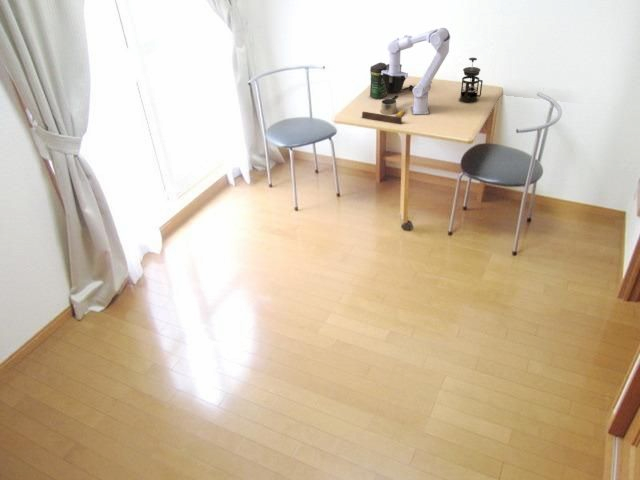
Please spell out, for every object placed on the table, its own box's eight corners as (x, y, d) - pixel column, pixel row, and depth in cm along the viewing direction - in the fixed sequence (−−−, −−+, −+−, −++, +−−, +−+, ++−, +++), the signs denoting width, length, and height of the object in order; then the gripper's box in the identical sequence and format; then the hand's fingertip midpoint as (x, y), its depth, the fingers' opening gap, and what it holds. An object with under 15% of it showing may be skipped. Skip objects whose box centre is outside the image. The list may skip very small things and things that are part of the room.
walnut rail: (362, 117, 277) (362, 112, 275) (363, 116, 278) (363, 111, 276) (400, 124, 267) (400, 118, 265) (401, 122, 268) (401, 117, 266)
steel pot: (392, 115, 277) (392, 105, 273) (379, 113, 280) (379, 103, 277) (403, 104, 287) (403, 95, 284) (390, 102, 290) (390, 93, 287)
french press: (456, 101, 286) (460, 59, 272) (462, 95, 292) (466, 54, 278) (476, 104, 280) (481, 62, 266) (482, 98, 286) (487, 56, 272)
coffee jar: (379, 100, 294) (379, 67, 283) (367, 97, 298) (367, 65, 287) (388, 94, 300) (389, 62, 289) (377, 92, 304) (377, 60, 293)
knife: (400, 112, 279) (400, 109, 278) (404, 112, 278) (404, 110, 277) (391, 120, 271) (392, 118, 270) (395, 121, 270) (395, 119, 269)
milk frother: (382, 89, 306) (382, 64, 297) (405, 84, 311) (405, 59, 302) (395, 97, 296) (395, 71, 287) (418, 91, 301) (419, 66, 292)
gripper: (378, 64, 272) (378, 89, 280) (404, 67, 266) (403, 93, 274) (384, 60, 277) (384, 85, 285) (409, 63, 271) (408, 88, 279)
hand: (394, 88), depth 280 cm, fingers open, 7 cm apart
